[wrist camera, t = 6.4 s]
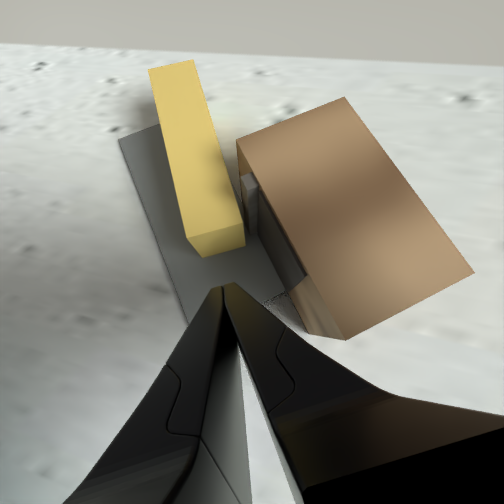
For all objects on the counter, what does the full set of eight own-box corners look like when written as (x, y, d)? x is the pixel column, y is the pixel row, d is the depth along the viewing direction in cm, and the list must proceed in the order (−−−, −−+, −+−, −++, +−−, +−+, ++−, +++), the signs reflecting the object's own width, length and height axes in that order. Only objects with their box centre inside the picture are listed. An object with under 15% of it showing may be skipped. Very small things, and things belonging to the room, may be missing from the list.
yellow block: (242, 222, 13) (193, 59, 16) (186, 238, 13) (147, 69, 16) (245, 246, 17) (205, 110, 20) (202, 258, 17) (168, 119, 20)
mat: (285, 291, 16) (286, 290, 16) (194, 335, 16) (193, 335, 15) (195, 114, 20) (194, 110, 20) (120, 142, 20) (118, 139, 19)
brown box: (389, 292, 16) (474, 272, 10) (300, 338, 15) (331, 347, 9) (314, 172, 19) (344, 96, 12) (234, 206, 18) (224, 144, 12)
